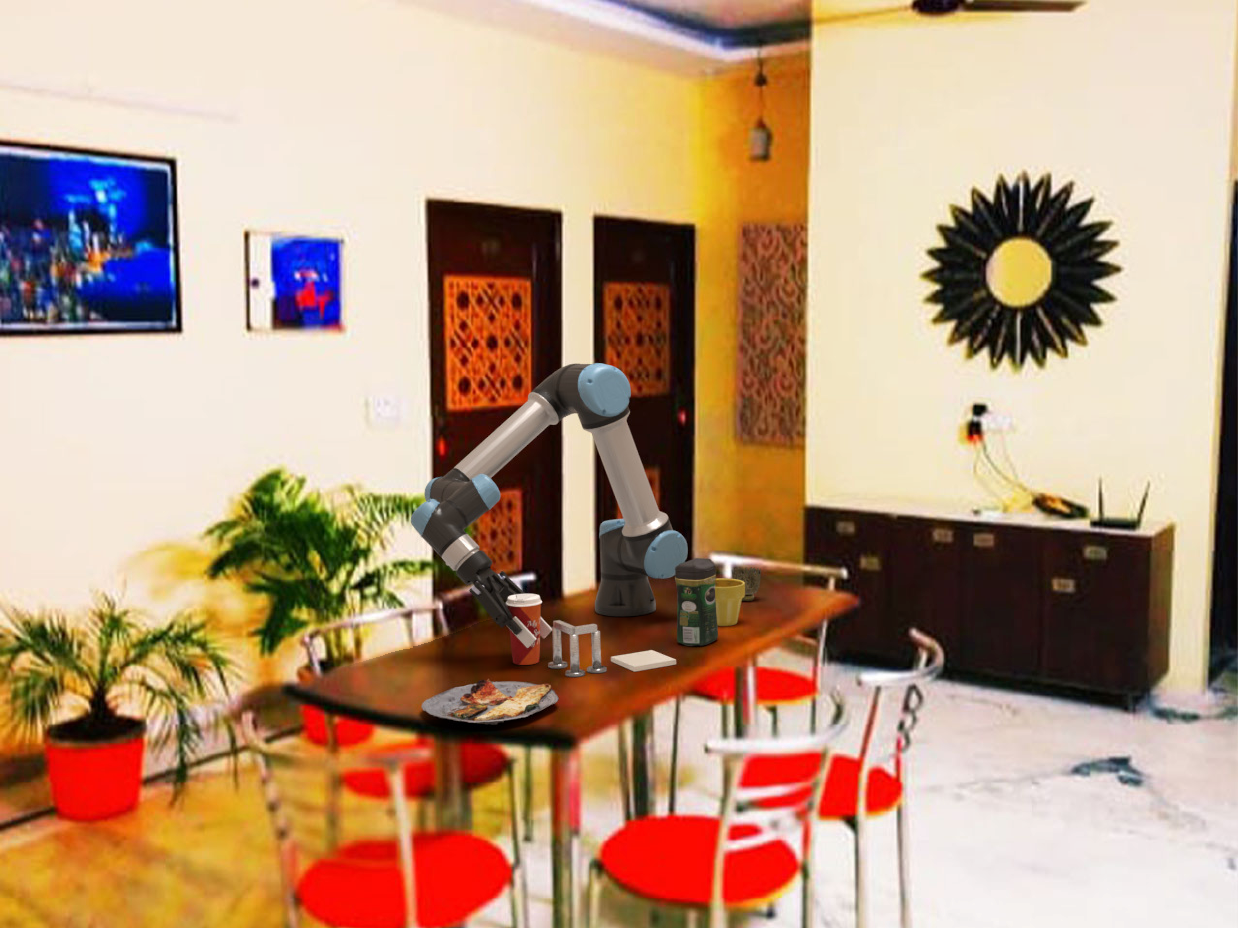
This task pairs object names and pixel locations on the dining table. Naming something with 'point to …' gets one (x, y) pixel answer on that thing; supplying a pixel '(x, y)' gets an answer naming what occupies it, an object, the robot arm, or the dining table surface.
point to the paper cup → (529, 615)
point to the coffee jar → (696, 602)
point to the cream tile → (643, 660)
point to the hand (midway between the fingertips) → (540, 638)
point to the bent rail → (575, 648)
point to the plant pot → (728, 600)
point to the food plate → (491, 701)
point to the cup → (748, 581)
